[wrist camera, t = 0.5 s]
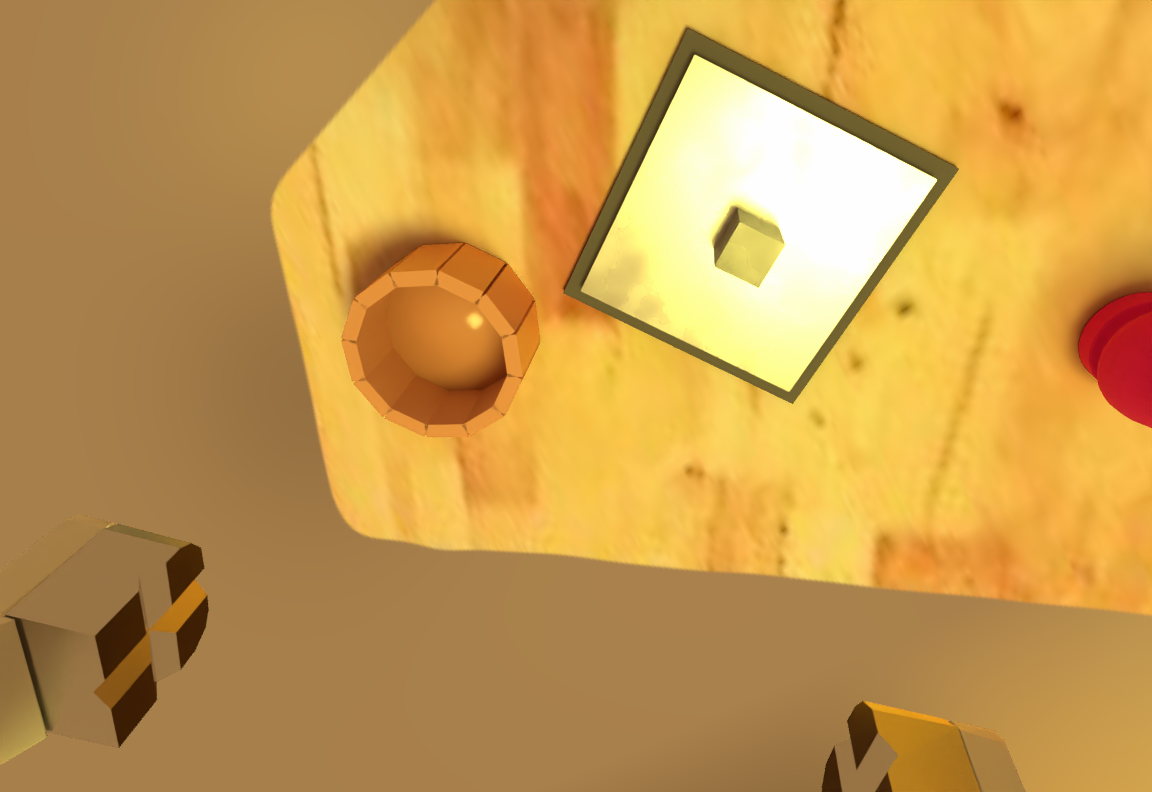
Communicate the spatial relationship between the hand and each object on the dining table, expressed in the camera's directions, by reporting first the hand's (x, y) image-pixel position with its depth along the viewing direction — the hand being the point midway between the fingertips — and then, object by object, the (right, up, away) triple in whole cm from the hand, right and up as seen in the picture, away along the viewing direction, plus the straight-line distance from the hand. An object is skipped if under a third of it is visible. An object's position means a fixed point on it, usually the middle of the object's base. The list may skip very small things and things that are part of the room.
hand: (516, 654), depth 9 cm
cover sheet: (+12, +13, +38) cm, 42 cm away
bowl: (-8, +8, +45) cm, 47 cm away
